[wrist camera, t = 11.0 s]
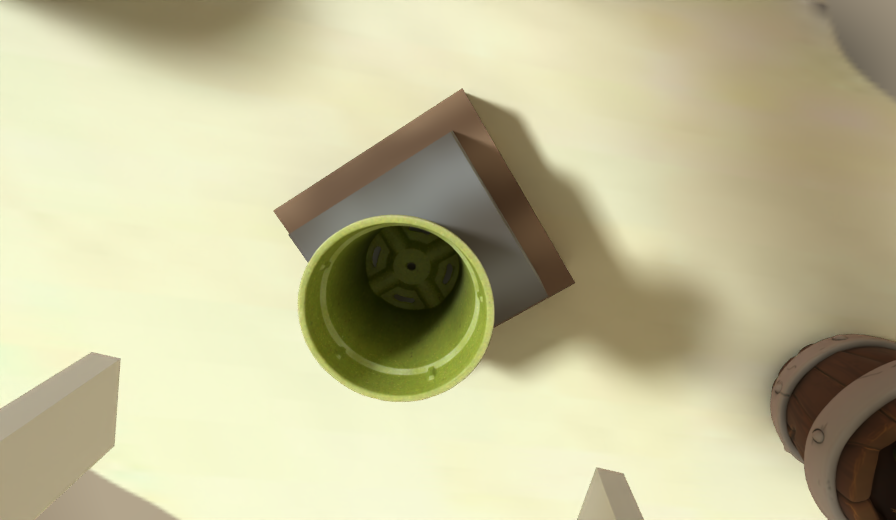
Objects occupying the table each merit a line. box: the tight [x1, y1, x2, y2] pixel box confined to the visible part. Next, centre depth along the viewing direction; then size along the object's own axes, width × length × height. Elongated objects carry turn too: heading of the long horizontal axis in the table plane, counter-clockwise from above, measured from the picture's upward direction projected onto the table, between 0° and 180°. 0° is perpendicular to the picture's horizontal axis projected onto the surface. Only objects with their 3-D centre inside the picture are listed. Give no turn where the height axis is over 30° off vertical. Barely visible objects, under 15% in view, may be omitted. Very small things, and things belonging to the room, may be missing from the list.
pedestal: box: [274, 88, 575, 328], centre depth 37 cm, size 16×16×9 cm
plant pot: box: [298, 215, 495, 402], centre depth 28 cm, size 9×9×9 cm
